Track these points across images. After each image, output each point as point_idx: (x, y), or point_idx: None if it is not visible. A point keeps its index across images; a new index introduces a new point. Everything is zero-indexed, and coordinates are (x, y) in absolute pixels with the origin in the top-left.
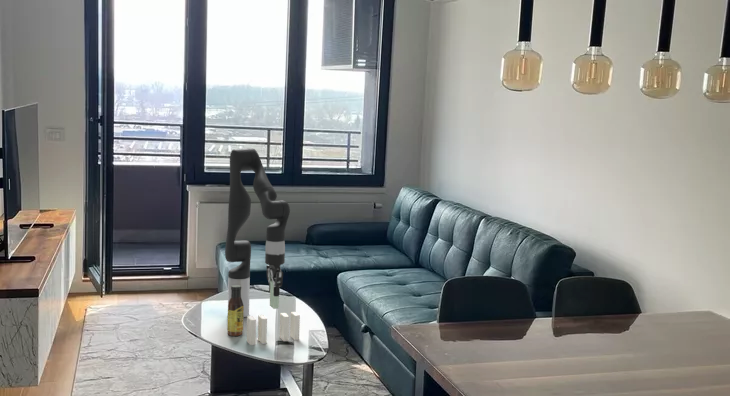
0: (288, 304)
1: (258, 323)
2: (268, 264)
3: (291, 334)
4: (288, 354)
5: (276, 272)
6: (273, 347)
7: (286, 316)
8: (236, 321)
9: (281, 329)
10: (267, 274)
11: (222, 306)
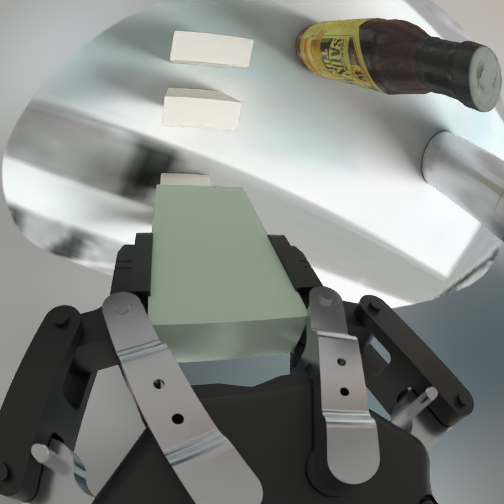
0: (411, 287)
1: (226, 97)
2: None
3: None
4: (36, 149)
5: (93, 497)
6: (114, 117)
7: None
8: (324, 36)
9: None
10: (402, 341)
11: None
